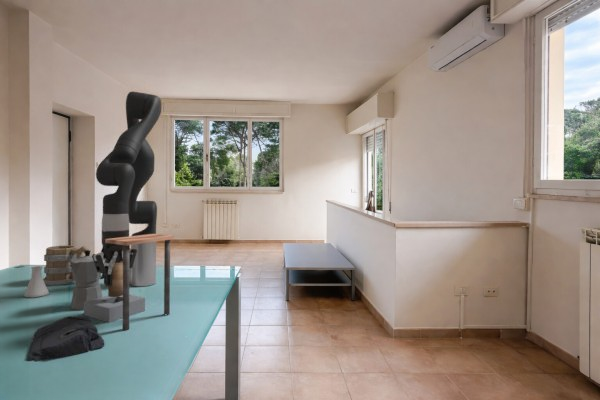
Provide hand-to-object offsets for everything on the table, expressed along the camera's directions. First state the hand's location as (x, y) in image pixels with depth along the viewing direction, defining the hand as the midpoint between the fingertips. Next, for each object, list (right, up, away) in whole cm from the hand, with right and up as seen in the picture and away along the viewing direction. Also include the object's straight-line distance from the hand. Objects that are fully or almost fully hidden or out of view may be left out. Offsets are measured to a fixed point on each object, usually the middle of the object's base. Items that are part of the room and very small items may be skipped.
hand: (115, 284), depth 113 cm
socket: (0, -9, 0) cm, 9 cm away
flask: (-36, -8, +17) cm, 41 cm away
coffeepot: (-12, -9, +8) cm, 17 cm away
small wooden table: (+10, -9, -5) cm, 14 cm away
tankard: (-37, -8, +36) cm, 52 cm away
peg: (0, -3, 0) cm, 3 cm away
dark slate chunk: (-2, -10, -20) cm, 23 cm away
